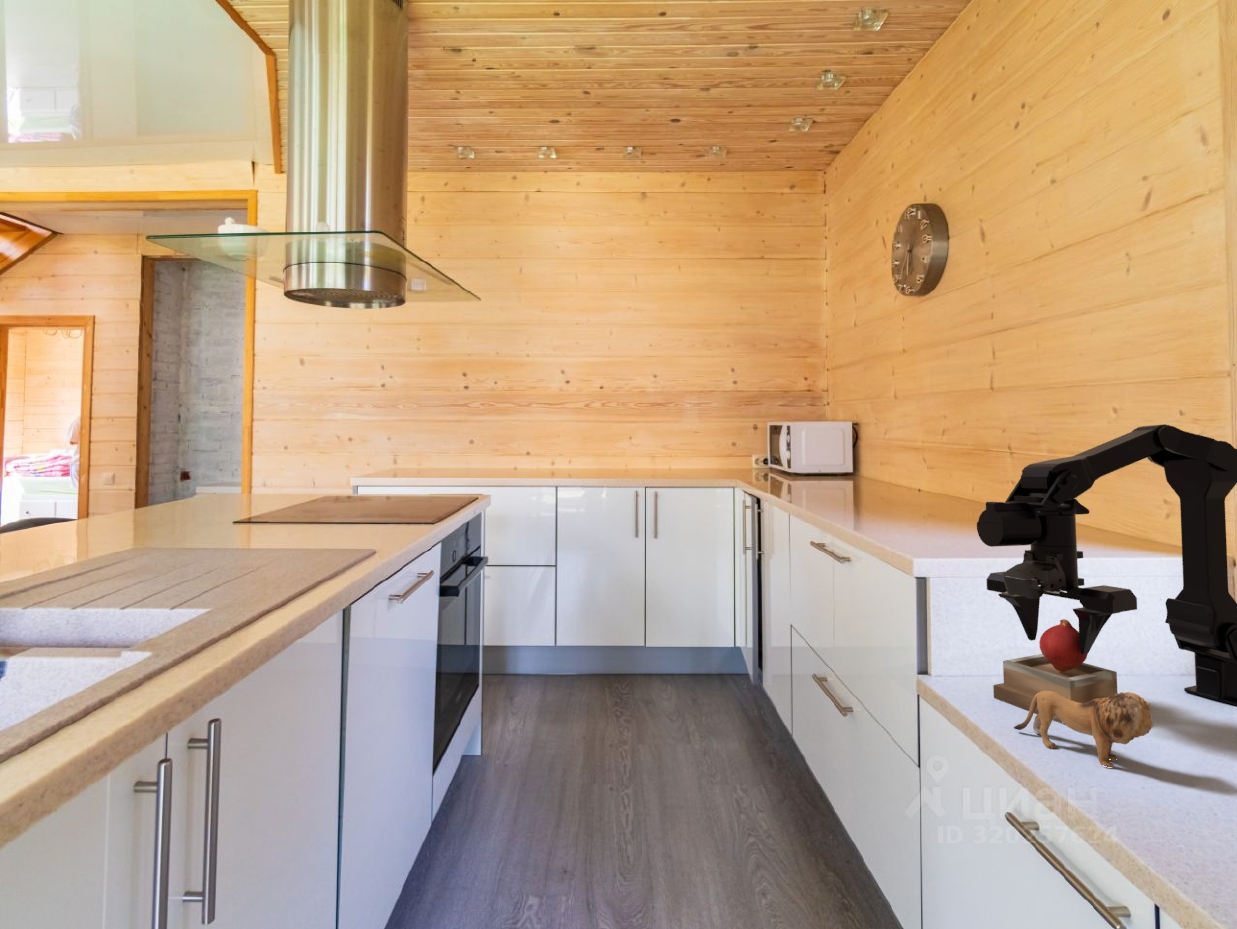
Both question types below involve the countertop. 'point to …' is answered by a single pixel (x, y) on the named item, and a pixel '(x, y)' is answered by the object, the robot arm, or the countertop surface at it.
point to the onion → (1062, 646)
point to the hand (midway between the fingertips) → (1057, 646)
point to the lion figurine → (1093, 719)
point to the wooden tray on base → (1052, 682)
